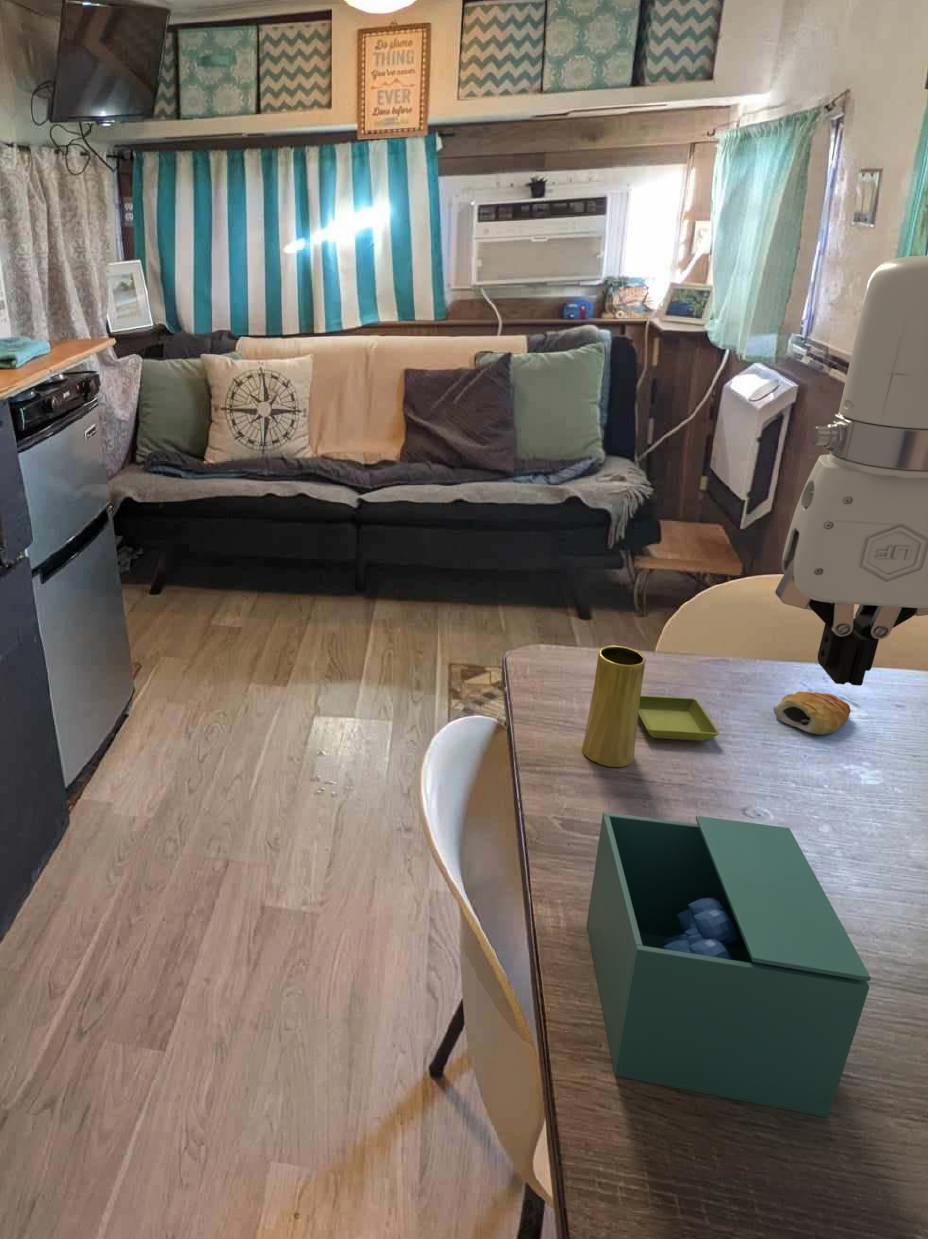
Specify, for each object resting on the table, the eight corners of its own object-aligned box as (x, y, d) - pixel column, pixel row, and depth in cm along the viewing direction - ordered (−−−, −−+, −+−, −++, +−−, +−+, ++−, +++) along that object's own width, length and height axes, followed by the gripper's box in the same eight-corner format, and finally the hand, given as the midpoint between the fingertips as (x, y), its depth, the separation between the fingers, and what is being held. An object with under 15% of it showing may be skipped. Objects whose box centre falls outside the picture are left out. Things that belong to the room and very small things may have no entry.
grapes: (709, 1079, 69) (771, 1044, 60) (624, 1031, 72) (671, 991, 63) (736, 950, 75) (795, 902, 66) (657, 910, 78) (703, 859, 69)
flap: (788, 831, 73) (789, 827, 73) (869, 981, 59) (871, 977, 59) (695, 818, 75) (695, 815, 75) (752, 961, 61) (753, 957, 60)
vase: (585, 735, 111) (598, 639, 106) (636, 747, 108) (652, 649, 103) (578, 760, 106) (591, 661, 101) (631, 773, 103) (647, 672, 98)
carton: (759, 951, 78) (788, 834, 73) (828, 1118, 64) (870, 986, 59) (586, 924, 82) (602, 812, 77) (614, 1076, 67) (637, 949, 63)
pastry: (812, 699, 117) (818, 675, 115) (864, 723, 111) (871, 698, 109) (767, 716, 113) (773, 692, 112) (818, 742, 107) (825, 717, 106)
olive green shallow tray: (694, 710, 115) (696, 697, 114) (718, 747, 107) (721, 733, 106) (626, 707, 117) (628, 694, 116) (645, 743, 109) (647, 729, 108)
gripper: (795, 455, 56) (746, 692, 63) (1067, 461, 52) (984, 712, 59) (759, 429, 63) (717, 645, 70) (997, 432, 59) (930, 661, 66)
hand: (840, 675), depth 64 cm, fingers closed
